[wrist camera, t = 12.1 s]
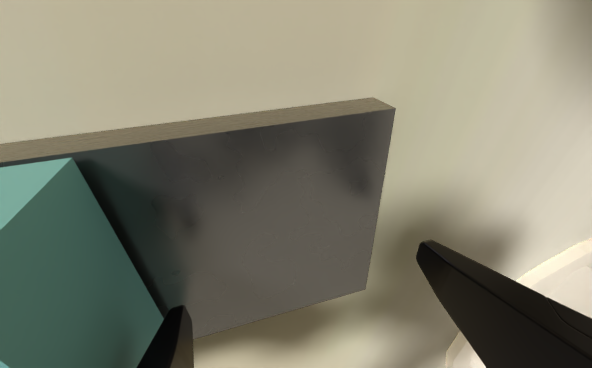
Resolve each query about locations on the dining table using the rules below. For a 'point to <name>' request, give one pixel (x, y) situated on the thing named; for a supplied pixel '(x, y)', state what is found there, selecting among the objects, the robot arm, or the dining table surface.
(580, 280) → the dish
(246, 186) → the vise base
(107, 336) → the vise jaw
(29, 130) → the dining table surface
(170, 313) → the robot arm
